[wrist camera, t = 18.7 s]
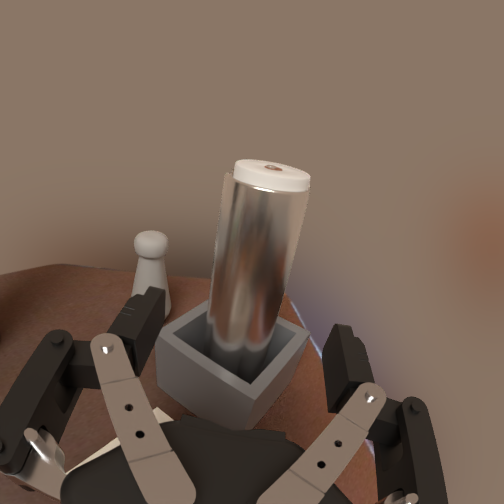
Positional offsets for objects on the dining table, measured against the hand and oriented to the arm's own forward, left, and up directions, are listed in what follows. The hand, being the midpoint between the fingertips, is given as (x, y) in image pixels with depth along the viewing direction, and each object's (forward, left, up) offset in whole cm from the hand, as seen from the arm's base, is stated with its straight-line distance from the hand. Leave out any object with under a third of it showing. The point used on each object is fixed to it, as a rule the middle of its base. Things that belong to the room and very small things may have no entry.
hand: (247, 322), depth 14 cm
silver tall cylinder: (-5, +10, -20) cm, 23 cm away
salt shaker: (-21, +12, -20) cm, 31 cm away
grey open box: (-6, +10, -20) cm, 23 cm away
